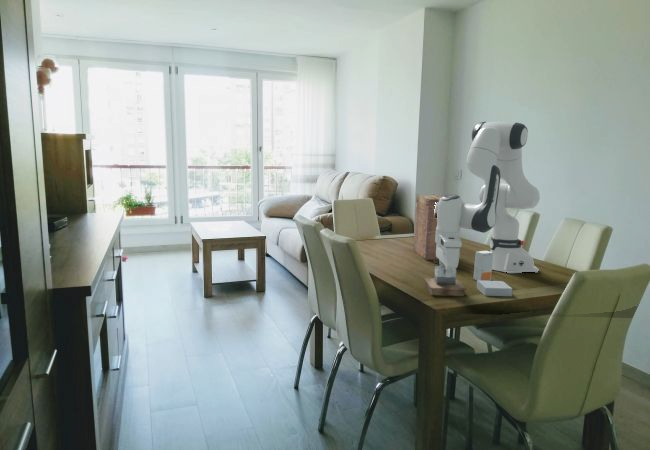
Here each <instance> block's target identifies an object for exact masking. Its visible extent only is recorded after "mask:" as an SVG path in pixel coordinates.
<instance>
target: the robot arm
mask: <svg viewBox="0 0 650 450" xmlns="http://www.w3.org/2000/svg"><path fill="white" fill-rule="evenodd" d="M528 132H529V131H528V128H527V126H526V125H525V124H523V123H521V122H510V121H502V120H500V121H481V122H478V123H476V124H475V126H474V127H473V129H472V132H471V140H472V143H471V144H470V147H469V150H468V153H467V156H466V160H465V161H466V162H465V164H466V167H467V169H468V170H469V171H470V173H471V174H473V175H474V176H476V177H478V178H479V179H481V180H483V181H484V184H483V185H482V186H481V188H480V190H479V192H478V198H479V202H480V204H474V203H469V202H467V203H466V202H465V201H463V200H462V199H461V197H460V195H458V194H457V195H456V194H446V195H443V196H440V197H441V198H440V200H439V203H438V208H437V227H436V236H435V242H436V243H437V245H436V257H437V258H438V259H439V260H438V261H439V266H446V272H445V276H446V277H448V278H450V277H451V272H452V269H453V268H455V269H457V268H458V266H459V260H460V252H461V251H460V250H461V249H460V248H462V245H463V242H462V240H461V229H466V230H471V231H476V232H479V233H485V234H486V233H487V232H488V231H490V230H492V234H491V238H490V244H489V245H490V251H489V252H492V253H493V262H492V271H493V270H494V271H498V272H504V273H506V272H507V274H523V273H522V272H535V273H539V272H538V271H540V269H539V268H538V267H537V266H535V262H534V258H533V256H532V255H531V254H530V253H529V252H528V251H526V250H525V249H524V248H523V247H522V246H526V244H527V242H526V241H525V240H521V239H519V233H520V232H519V230H520V223H519V221H518V219H517V218H516V217H514V216H513V215H511V214H509V213H508V210H507V209H516V210H529V209H534V208H535V207H536V206H537V205H538V204H539V202H540V199H541V196H540V195H541V194H540V191H539V189H538V188H537V186H534V184H532V183H531V182H529V180H528V178H526V176H525V174H524V171H523V170H524V169H523V153H522V152H523V150H522V148H523V147H524V146H525V145H526V143H527V141H528V138H529V136H528V135H529V133H528ZM501 180H503V181H505V182H506V183H501Z"/></svg>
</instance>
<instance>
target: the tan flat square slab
mask: <svg viewBox="0 0 650 450" xmlns="http://www.w3.org/2000/svg"><path fill="white" fill-rule="evenodd" d="M423 280H424V281H425V282H424V283H425V284H424V286H425V288H426V290H427V291H428V292H429V293H430V295H431V296H453V297H455V296H456V297H464V296H465V291H467V288H466V286H464V285H463V283H462V282H460V280H459V279H457V278H456V283H455V285H437V284H436V283H435V282H434V277H432V278H431V277H430V278H429V277H424V278H423Z"/></svg>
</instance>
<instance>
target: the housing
mask: <svg viewBox="0 0 650 450" xmlns="http://www.w3.org/2000/svg"><path fill="white" fill-rule="evenodd" d="M445 272H446V266H440V265H435V266H434V277H433V278H434V282H435V283H436V284H437V285H455V283H456V279H457V278H456V277H457V268H453V269H452V272H451V277H450V278H448V277H446V276H445Z"/></svg>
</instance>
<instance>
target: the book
mask: <svg viewBox="0 0 650 450" xmlns="http://www.w3.org/2000/svg"><path fill="white" fill-rule="evenodd" d="M441 197H442V196H440V195H436V194H432V195H428V194H427V195H421V194H416V200H415V201H416V202H415V216H414V217H415V219H414V220H415V221H414V235H413V236H414V237H413V250H414V251H415V252H416V253H417V254H418V255H420V257H422V258H423V259H424V260H426V261H427V260H428V261H439V260H438V258H437V257H436V245H437V243H436V242H435V236H436V227H437V220H436V219H437V218H435V216H434V209H435V206H434V205H436V204H435V202H436V203H437V202H439V200H440V198H441Z"/></svg>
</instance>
